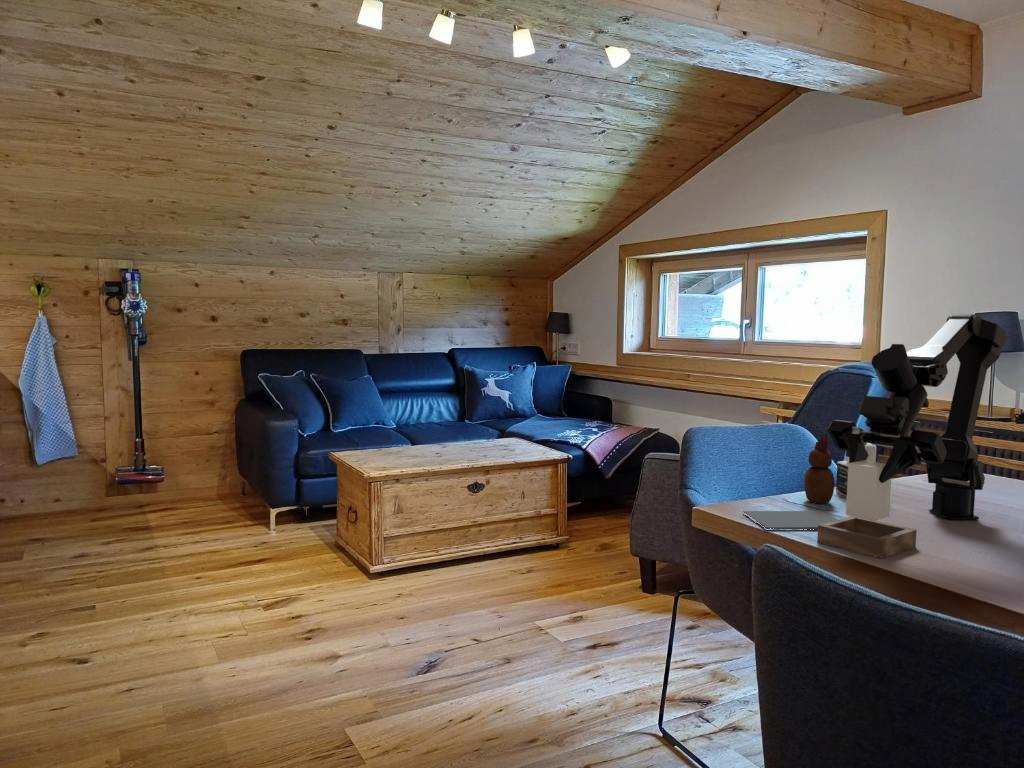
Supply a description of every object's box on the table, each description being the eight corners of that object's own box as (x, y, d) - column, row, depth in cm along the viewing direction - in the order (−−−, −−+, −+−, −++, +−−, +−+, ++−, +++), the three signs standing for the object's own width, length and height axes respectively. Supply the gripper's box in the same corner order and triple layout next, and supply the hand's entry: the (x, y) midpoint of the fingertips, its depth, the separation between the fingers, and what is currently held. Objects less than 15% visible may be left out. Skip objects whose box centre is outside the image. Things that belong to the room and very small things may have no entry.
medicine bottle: (835, 492, 174) (837, 439, 173) (865, 492, 175) (868, 439, 174) (851, 499, 167) (854, 444, 166) (883, 499, 168) (886, 444, 167)
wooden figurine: (836, 506, 160) (839, 435, 159) (806, 505, 161) (809, 433, 160) (829, 499, 167) (832, 430, 166) (801, 497, 168) (804, 429, 167)
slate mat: (821, 513, 154) (821, 510, 154) (851, 530, 142) (851, 527, 142) (742, 514, 153) (743, 511, 153) (766, 530, 141) (766, 527, 141)
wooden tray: (851, 531, 141) (852, 515, 141) (915, 546, 132) (916, 529, 132) (817, 542, 134) (818, 525, 134) (882, 558, 125) (883, 540, 125)
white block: (861, 510, 136) (863, 460, 135) (889, 516, 132) (891, 464, 131) (845, 514, 133) (848, 463, 132) (874, 521, 129) (877, 467, 128)
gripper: (835, 375, 140) (798, 441, 134) (942, 383, 125) (906, 457, 120) (855, 415, 146) (820, 480, 140) (961, 427, 131) (927, 500, 125)
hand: (865, 478), depth 131 cm, fingers closed on white block, 5 cm apart
